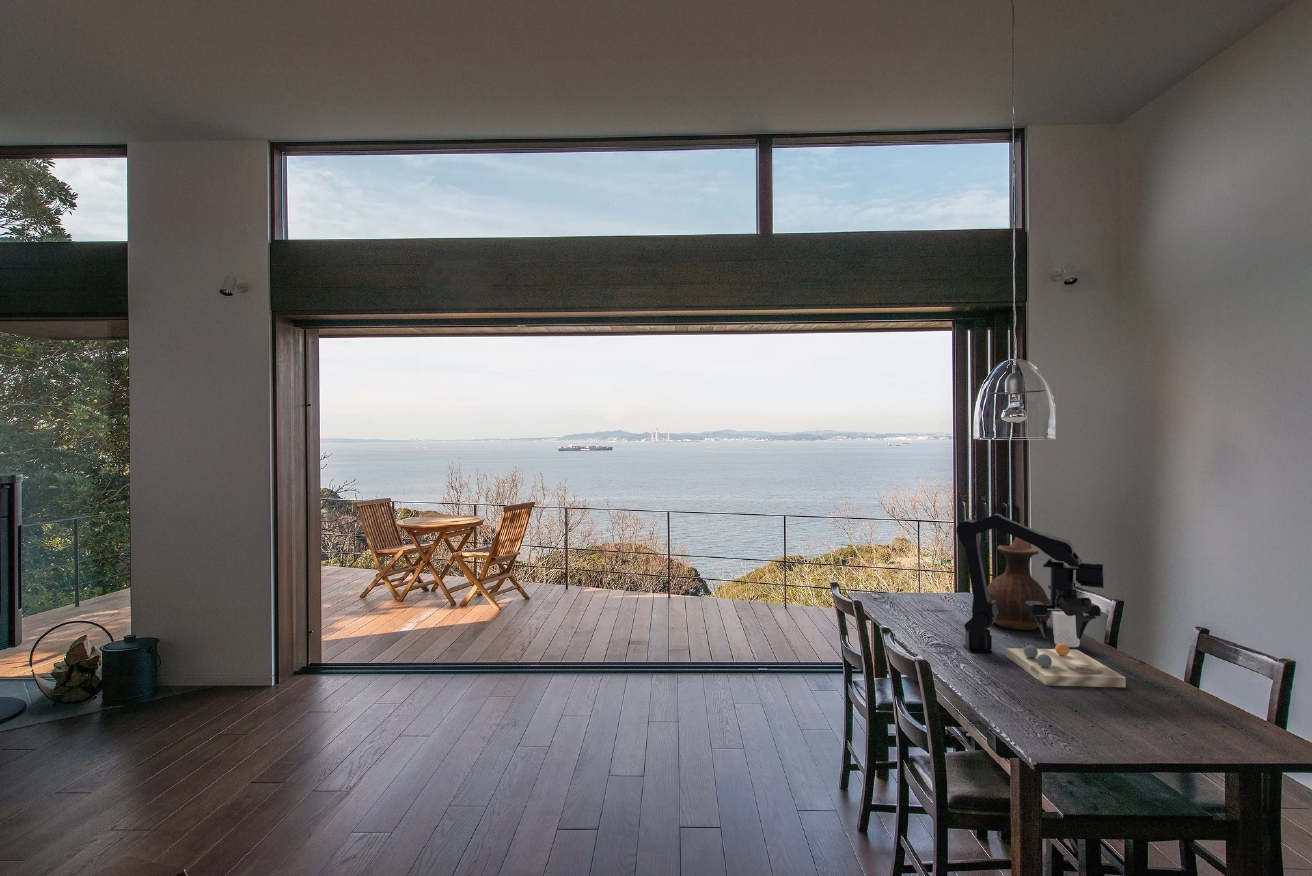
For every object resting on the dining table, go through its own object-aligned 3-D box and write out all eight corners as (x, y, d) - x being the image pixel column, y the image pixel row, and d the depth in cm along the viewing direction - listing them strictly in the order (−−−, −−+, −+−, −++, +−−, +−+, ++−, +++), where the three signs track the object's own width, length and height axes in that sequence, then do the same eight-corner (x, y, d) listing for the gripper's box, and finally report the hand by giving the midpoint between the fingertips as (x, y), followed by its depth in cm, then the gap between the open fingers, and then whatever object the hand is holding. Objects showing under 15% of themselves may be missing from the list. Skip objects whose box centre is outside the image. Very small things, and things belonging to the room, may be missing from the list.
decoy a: (1027, 659, 195) (1027, 647, 195) (1021, 655, 198) (1021, 643, 198) (1040, 660, 195) (1040, 647, 195) (1034, 656, 198) (1034, 643, 198)
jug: (1067, 632, 231) (1067, 542, 231) (1008, 635, 228) (1008, 543, 228) (1022, 615, 253) (1022, 533, 253) (968, 618, 249) (968, 534, 249)
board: (1045, 685, 182) (1045, 675, 182) (1006, 656, 206) (1006, 648, 206) (1125, 687, 180) (1125, 677, 180) (1076, 658, 204) (1076, 649, 204)
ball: (1059, 657, 197) (1059, 644, 197) (1053, 653, 201) (1052, 641, 201) (1071, 657, 197) (1071, 645, 197) (1065, 653, 200) (1065, 641, 200)
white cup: (1073, 641, 221) (1073, 609, 221) (1086, 648, 213) (1086, 616, 213) (1047, 640, 222) (1047, 609, 222) (1059, 647, 214) (1059, 615, 214)
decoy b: (1040, 669, 187) (1040, 656, 187) (1034, 664, 190) (1034, 652, 190) (1054, 669, 187) (1054, 656, 187) (1048, 665, 190) (1048, 652, 190)
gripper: (1041, 589, 191) (1041, 646, 191) (1112, 590, 190) (1112, 647, 190) (1023, 581, 202) (1023, 634, 203) (1090, 582, 201) (1090, 636, 201)
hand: (1061, 638), depth 199 cm, fingers open, 9 cm apart
